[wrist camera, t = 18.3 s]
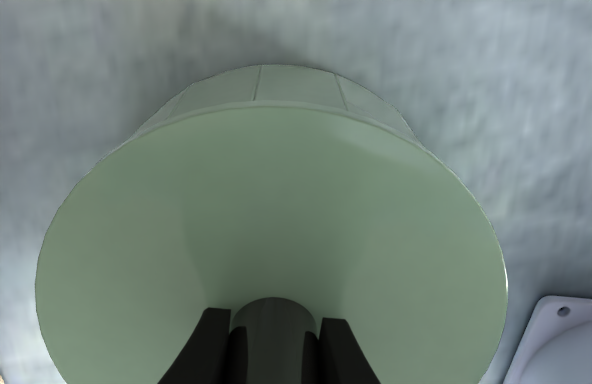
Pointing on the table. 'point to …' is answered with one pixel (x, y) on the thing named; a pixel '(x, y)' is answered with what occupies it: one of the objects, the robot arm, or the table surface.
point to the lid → (271, 251)
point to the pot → (282, 94)
